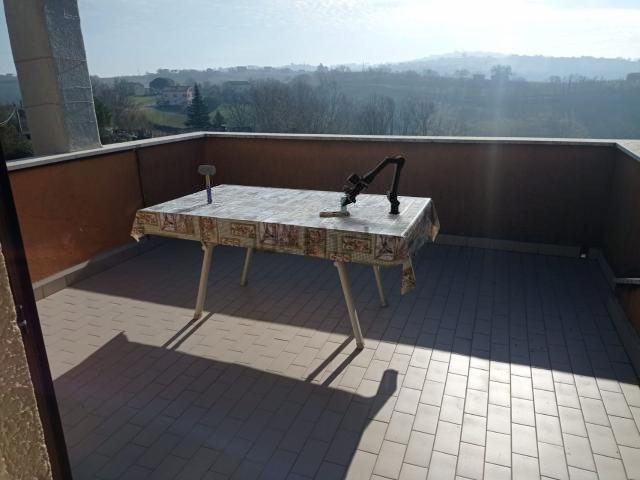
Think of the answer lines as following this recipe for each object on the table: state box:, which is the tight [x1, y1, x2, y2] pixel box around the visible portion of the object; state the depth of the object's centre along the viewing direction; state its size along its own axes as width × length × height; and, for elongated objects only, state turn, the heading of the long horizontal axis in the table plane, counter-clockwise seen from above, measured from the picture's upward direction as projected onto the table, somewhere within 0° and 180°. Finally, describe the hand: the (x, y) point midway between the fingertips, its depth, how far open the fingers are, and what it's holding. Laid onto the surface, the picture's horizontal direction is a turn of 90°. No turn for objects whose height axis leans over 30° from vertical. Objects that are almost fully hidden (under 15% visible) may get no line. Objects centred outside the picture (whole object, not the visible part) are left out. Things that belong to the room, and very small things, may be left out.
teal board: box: [340, 195, 348, 213], centre depth 317 cm, size 4×2×13 cm, turn 96°
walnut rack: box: [319, 210, 351, 218], centre depth 318 cm, size 20×7×2 cm, turn 96°
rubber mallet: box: [197, 164, 217, 204], centre depth 357 cm, size 12×8×30 cm, turn 66°
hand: (341, 205), depth 317 cm, fingers closed on teal board, 2 cm apart
